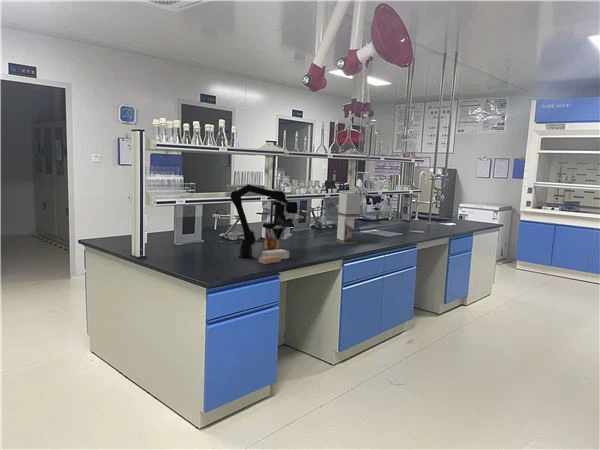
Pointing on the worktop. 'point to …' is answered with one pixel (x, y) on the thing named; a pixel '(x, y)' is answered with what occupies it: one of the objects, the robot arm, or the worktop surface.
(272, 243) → the candy box
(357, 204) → the tall white box
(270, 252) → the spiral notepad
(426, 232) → the worktop surface
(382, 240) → the worktop surface
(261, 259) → the pink rectangular slab
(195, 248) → the worktop surface
